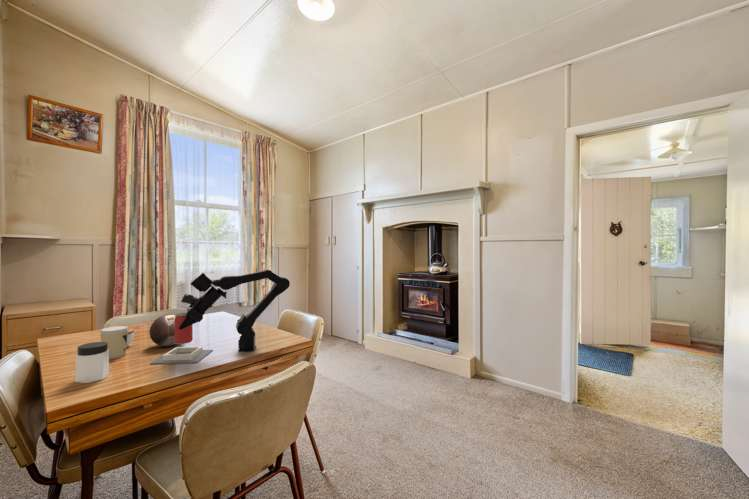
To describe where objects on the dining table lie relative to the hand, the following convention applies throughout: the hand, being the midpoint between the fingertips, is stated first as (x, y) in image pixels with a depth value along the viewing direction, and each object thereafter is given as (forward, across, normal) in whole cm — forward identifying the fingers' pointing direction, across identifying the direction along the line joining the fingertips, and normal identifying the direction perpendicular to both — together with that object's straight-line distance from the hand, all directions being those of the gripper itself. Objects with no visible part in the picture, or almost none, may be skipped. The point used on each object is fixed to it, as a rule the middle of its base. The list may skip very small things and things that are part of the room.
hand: (179, 327), depth 136 cm
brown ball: (+14, -23, +5) cm, 27 cm away
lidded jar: (+28, -29, -9) cm, 41 cm away
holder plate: (+8, 0, +10) cm, 13 cm away
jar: (+28, +12, -9) cm, 31 cm away
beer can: (+4, 0, +6) cm, 7 cm away
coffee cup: (+27, -15, -9) cm, 32 cm away
